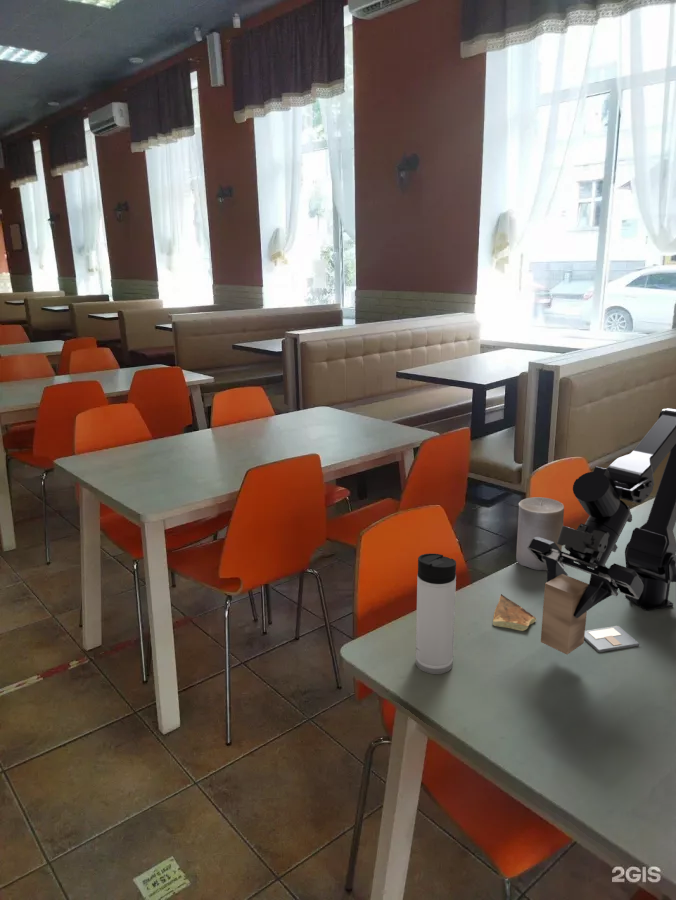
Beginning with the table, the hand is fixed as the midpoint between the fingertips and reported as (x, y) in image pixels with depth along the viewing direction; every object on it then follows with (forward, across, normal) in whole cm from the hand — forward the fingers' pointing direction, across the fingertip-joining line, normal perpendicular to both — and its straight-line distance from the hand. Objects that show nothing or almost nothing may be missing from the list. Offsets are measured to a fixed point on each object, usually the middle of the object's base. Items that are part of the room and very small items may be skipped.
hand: (560, 610), depth 109 cm
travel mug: (+18, -14, -3) cm, 23 cm away
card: (-2, +2, +17) cm, 18 cm away
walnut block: (+4, 0, +6) cm, 7 cm away
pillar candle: (-15, -25, +30) cm, 42 cm away
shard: (+3, -15, +13) cm, 20 cm away
